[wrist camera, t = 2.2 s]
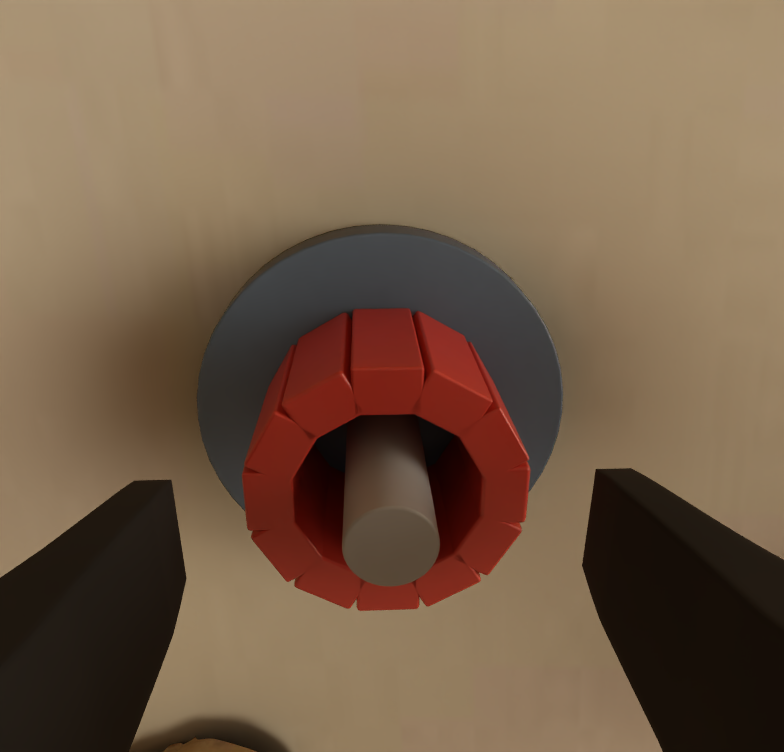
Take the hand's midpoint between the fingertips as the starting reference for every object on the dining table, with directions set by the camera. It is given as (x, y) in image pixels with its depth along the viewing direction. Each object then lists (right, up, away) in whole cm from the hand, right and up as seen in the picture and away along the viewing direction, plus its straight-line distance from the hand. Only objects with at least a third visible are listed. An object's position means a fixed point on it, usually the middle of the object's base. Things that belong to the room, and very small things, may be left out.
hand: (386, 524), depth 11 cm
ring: (0, +2, +4) cm, 4 cm away
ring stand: (0, +2, +5) cm, 5 cm away
